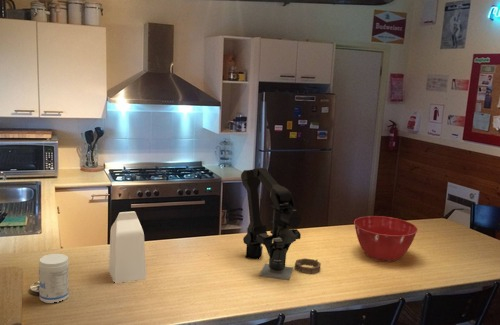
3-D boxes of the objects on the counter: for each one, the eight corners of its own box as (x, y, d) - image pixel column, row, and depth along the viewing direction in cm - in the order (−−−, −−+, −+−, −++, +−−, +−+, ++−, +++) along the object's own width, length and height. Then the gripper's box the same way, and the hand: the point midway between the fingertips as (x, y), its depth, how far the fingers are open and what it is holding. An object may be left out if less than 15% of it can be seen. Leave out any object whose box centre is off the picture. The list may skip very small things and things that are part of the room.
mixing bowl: (377, 271, 205) (380, 237, 202) (339, 248, 230) (341, 218, 228) (427, 264, 216) (431, 231, 214) (385, 243, 242) (388, 213, 239)
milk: (114, 284, 181) (114, 218, 176) (108, 272, 191) (108, 209, 186) (146, 279, 186) (146, 215, 182) (138, 268, 196) (139, 207, 192)
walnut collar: (293, 271, 200) (294, 264, 200) (296, 262, 210) (297, 255, 210) (318, 275, 198) (319, 267, 197) (320, 265, 208) (321, 258, 207)
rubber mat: (259, 276, 194) (259, 274, 194) (265, 265, 206) (265, 263, 206) (288, 280, 192) (289, 278, 192) (292, 268, 203) (293, 267, 203)
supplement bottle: (275, 272, 194) (277, 244, 192) (265, 266, 199) (267, 238, 197) (288, 269, 198) (290, 241, 195) (278, 263, 203) (280, 236, 201)
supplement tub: (34, 297, 167) (33, 257, 164) (60, 289, 174) (59, 251, 172) (48, 307, 161) (47, 266, 158) (74, 298, 168) (73, 258, 165)
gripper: (272, 229, 183) (270, 267, 186) (310, 223, 193) (307, 259, 196) (256, 220, 192) (254, 257, 195) (293, 215, 202) (291, 250, 205)
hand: (277, 256), depth 198 cm, fingers closed on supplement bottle, 7 cm apart
